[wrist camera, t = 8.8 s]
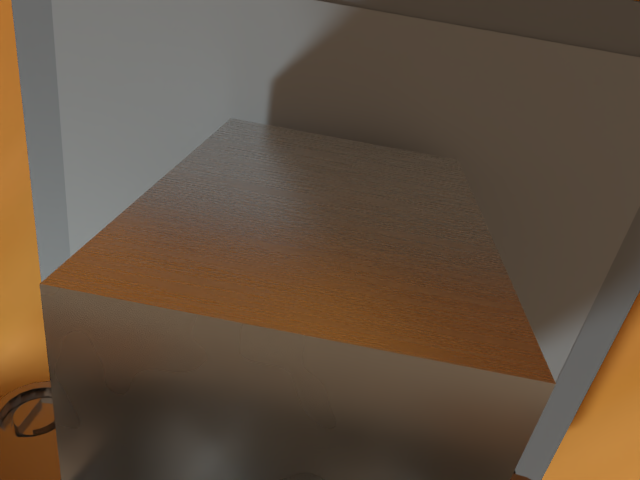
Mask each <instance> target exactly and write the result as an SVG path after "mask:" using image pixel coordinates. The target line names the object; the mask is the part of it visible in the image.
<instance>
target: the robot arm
mask: <svg viewBox="0 0 640 480" xmlns="http://www.w3.org/2000/svg"><path fill="white" fill-rule="evenodd" d="M0 480H61V473H60V464H59V454H58V445H57V436H56V427H55V418H54V409H53V400H52V391H51V382H50V381H46V382H37V383H32V384H29V385H25V386H22V387H19V388H17V389H15V390H13V391H12V392H10V393H8V394H6V395H5V396H4V397H3V398H1V399H0ZM510 480H531V479H529V478H527V477H524V476H521V475H518V474H516V473H515V471H514V473H513V475H512V477H511V479H510Z"/></svg>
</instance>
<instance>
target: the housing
mask: <svg viewBox="0 0 640 480" xmlns="http://www.w3.org/2000/svg"><path fill="white" fill-rule="evenodd" d="M40 291H41V300H42V309H43V318H44V327H45V336H46V346H47V355H48V364H49V373H50V382H51V391H52V400H53V409H54V418H55V427H56V436H57V445H58V454H59V464H60V473H61V480H510V479H511V477H512V475H513V473H514V471H515V468H516V466H517V464H518V462H519V460H520V458H521V456H522V454H523V452H524V450H525V448H526V445H527V443H528V441H529V439H530V437H531V435H532V433H533V431H534V429H535V427H536V425H537V423H538V420H539V418H540V416H541V414H542V412H543V410H544V408H545V406H546V404H547V402H548V400H549V397H550V395H551V393H552V391H553V389H554V387H555V385H556V383H555V381H554V379H553V376H552V374H551V372H550V369H549V367H548V365H547V362H546V360H545V358H544V356H543V353H542V351H541V349H540V346H539V344H538V342H537V340H536V337H535V335H534V333H533V330H532V328H531V326H530V324H529V321H528V319H527V317H526V314H525V312H524V310H523V308H522V305H521V303H520V301H519V298H518V296H517V294H516V292H515V289H514V287H513V285H512V282H511V280H510V278H509V276H508V273H507V271H506V269H505V266H504V264H503V262H502V260H501V257H500V255H499V253H498V250H497V248H496V246H495V243H494V241H493V239H492V237H491V234H490V232H489V230H488V227H487V225H486V223H485V221H484V218H483V216H482V214H481V211H480V209H479V207H478V205H477V202H476V200H475V198H474V195H473V193H472V191H471V189H470V186H469V184H468V182H467V179H466V177H465V175H464V173H463V170H462V168H461V166H460V163H459V161H458V160H456V159H450V158H445V157H439V156H434V155H429V154H423V153H418V152H412V151H407V150H401V149H396V148H390V147H385V146H379V145H374V144H368V143H363V142H358V141H352V140H347V139H341V138H336V137H330V136H325V135H319V134H314V133H308V132H303V131H297V130H292V129H287V128H281V127H276V126H270V125H265V124H259V123H254V122H248V121H243V120H237V119H232V118H230V119H229V120H228V121H227V122H226V123H225V124H224V125H222V126H221V127H220V128H219V129H218V130H217V131H215V132H214V133H213V134H212V135H211V136H210V137H209V138H207V139H206V140H205V141H204V142H203V143H202V144H200V145H199V146H198V147H197V148H196V149H195V150H194V151H192V152H191V153H190V154H189V155H188V156H187V157H185V158H184V159H183V160H182V161H181V162H180V163H179V164H177V165H176V166H175V167H174V168H173V169H172V170H170V171H169V172H168V173H167V174H166V175H165V176H164V177H162V178H161V179H160V180H159V181H158V182H157V183H155V184H154V185H153V186H152V187H151V188H150V189H148V190H147V191H146V192H145V193H144V194H143V195H142V196H140V197H139V198H138V199H137V200H136V201H135V202H133V203H132V204H131V205H130V206H129V207H128V208H127V209H125V210H124V211H123V212H122V213H121V214H120V215H118V216H117V217H116V218H115V219H114V220H113V221H112V222H110V223H109V224H108V225H107V226H106V227H105V228H103V229H102V230H101V231H100V232H99V233H98V234H97V235H95V236H94V237H93V238H92V239H91V240H90V241H88V242H87V243H86V244H85V245H84V246H83V247H82V248H80V249H79V250H78V251H77V252H76V253H75V254H73V255H72V256H71V257H70V258H69V259H68V260H67V261H65V262H64V263H63V264H62V265H61V266H60V267H58V268H57V269H56V270H55V271H54V272H53V273H51V274H50V275H49V276H48V277H47V278H46V279H45V280H43V281H42V282H41V283H40Z"/></svg>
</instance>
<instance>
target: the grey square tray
mask: <svg viewBox="0 0 640 480" xmlns="http://www.w3.org/2000/svg"><path fill="white" fill-rule="evenodd" d="M12 10H13V19H14V28H15V38H16V47H17V57H18V66H19V75H20V85H21V94H22V103H23V113H24V122H25V132H26V141H27V150H28V160H29V169H30V179H31V188H32V197H33V207H34V216H35V226H36V235H37V244H38V254H39V263H40V273H41V282H42V281H43V280H45V279H46V278H47V277H48V276H49V275H50V274H51V273H53V272H54V271H55V270H56V269H57V268H58V267H60V266H61V265H62V264H63V263H64V262H65V261H67V260H68V259H69V258H70V257H71V256H72V255H73V254H75V253H76V252H77V251H78V250H79V249H80V248H82V247H83V246H84V245H85V244H86V243H87V242H88V241H90V240H91V239H92V238H93V237H94V236H95V235H97V234H98V233H99V232H100V231H101V230H102V229H103V228H105V227H106V226H107V225H108V224H109V223H110V222H112V221H113V220H114V219H115V218H116V217H117V216H118V215H120V214H121V213H122V212H123V211H124V210H125V209H127V208H128V207H129V206H130V205H131V204H132V203H133V202H135V201H136V200H137V199H138V198H139V197H140V196H142V195H143V194H144V193H145V192H146V191H147V190H148V189H150V188H151V187H152V186H153V185H154V184H155V183H157V182H158V181H159V180H160V179H161V178H162V177H164V176H165V175H166V174H167V173H168V172H169V171H170V170H172V169H173V168H174V167H175V166H176V165H177V164H179V163H180V162H181V161H182V160H183V159H184V158H185V157H187V156H188V155H189V154H190V153H191V152H192V151H194V150H195V149H196V148H197V147H198V146H199V145H200V144H202V143H203V142H204V141H205V140H206V139H207V138H209V137H210V136H211V135H212V134H213V133H214V132H215V131H217V130H218V129H219V128H220V127H221V126H222V125H224V124H225V123H226V122H227V121H228V120H229V119H230V118H232V119H237V120H243V121H248V122H254V123H259V124H265V125H270V126H276V127H281V128H287V129H292V130H297V131H303V132H308V133H314V134H319V135H325V136H330V137H336V138H341V139H347V140H352V141H358V142H363V143H368V144H374V145H379V146H385V147H390V148H396V149H401V150H407V151H412V152H418V153H423V154H429V155H434V156H439V157H445V158H450V159H456V160H458V161H459V163H460V166H461V168H462V170H463V173H464V175H465V177H466V179H467V182H468V184H469V186H470V189H471V191H472V193H473V195H474V198H475V200H476V202H477V205H478V207H479V209H480V211H481V214H482V216H483V218H484V221H485V223H486V225H487V227H488V230H489V232H490V234H491V237H492V239H493V241H494V243H495V246H496V248H497V250H498V253H499V255H500V257H501V260H502V262H503V264H504V266H505V269H506V271H507V273H508V276H509V278H510V280H511V282H512V285H513V287H514V289H515V292H516V294H517V296H518V298H519V301H520V303H521V305H522V308H523V310H524V312H525V314H526V317H527V319H528V321H529V324H530V326H531V328H532V330H533V333H534V335H535V337H536V340H537V342H538V344H539V346H540V349H541V351H542V353H543V356H544V358H545V360H546V362H547V365H548V367H549V369H550V372H551V374H552V376H553V379H554V381H555V383H556V385H555V387H554V389H553V391H552V393H551V395H550V397H549V400H548V402H547V404H546V406H545V408H544V410H543V412H542V414H541V416H540V418H539V420H538V423H537V425H536V427H535V429H534V431H533V433H532V435H531V437H530V439H529V441H528V443H527V445H526V448H525V450H524V452H523V454H522V456H521V458H520V460H519V462H518V464H517V466H516V468H515V473H516V474H518V475H521V476H524V477H527V478H529V479H531V480H542V478H543V476H544V474H545V472H546V470H547V468H548V466H549V464H550V462H551V460H552V458H553V457H554V455H555V453H556V451H557V449H558V447H559V445H560V443H561V441H562V439H563V437H564V435H565V433H566V432H567V430H568V428H569V426H570V424H571V422H572V420H573V418H574V416H575V414H576V412H577V410H578V408H579V407H580V405H581V403H582V401H583V399H584V397H585V395H586V393H587V391H588V389H589V387H590V385H591V383H592V382H593V380H594V378H595V376H596V374H597V372H598V370H599V368H600V366H601V364H602V362H603V360H604V358H605V357H606V355H607V353H608V351H609V349H610V347H611V345H612V343H613V341H614V339H615V337H616V335H617V334H618V332H619V330H620V328H621V326H622V324H623V322H624V320H625V318H626V316H627V314H628V312H629V310H630V309H631V307H632V305H633V303H634V301H635V299H636V297H637V295H638V293H639V291H640V1H634V0H12Z"/></svg>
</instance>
